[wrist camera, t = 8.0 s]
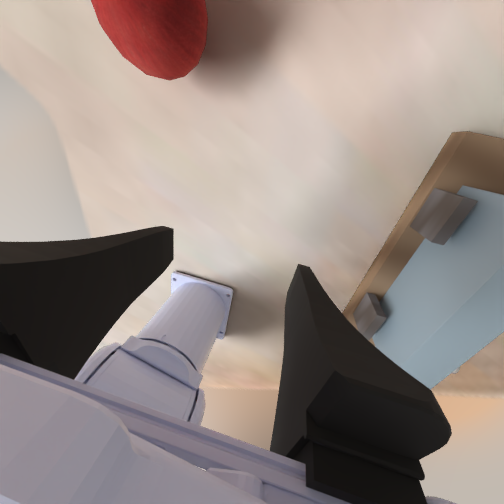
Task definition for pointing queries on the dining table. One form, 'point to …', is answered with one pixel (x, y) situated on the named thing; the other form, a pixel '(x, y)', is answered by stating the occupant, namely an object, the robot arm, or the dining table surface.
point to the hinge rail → (429, 218)
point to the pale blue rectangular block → (448, 296)
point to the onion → (156, 33)
